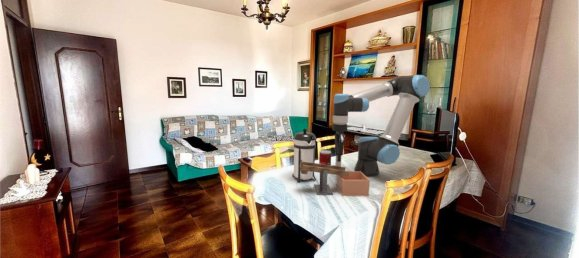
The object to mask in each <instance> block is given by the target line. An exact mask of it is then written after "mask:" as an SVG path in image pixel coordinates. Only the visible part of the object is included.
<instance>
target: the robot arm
mask: <svg viewBox="0 0 579 258" xmlns="http://www.w3.org/2000/svg"><path fill="white" fill-rule="evenodd" d="M430 89H431V84H430V81H429V78H428V77H426V76H425V75H422V74H415V75H402V76H401V75H400V76H398V77H395V78H392V79H390V80H387V81H384V82H383V83H382V84H380V85H376V86H373V87H370V88H367V89H364V90H361V91H358V92H355V93H352V94H348V93H335V94H334V95H333V96H334V97H333V113H332V114H333V116H332V117H331V118H332V131H333V132H335V133H334V135H333V136H334V152H335V163H334V164H335V166H340V167H342V156H344V148H345V142H346V139H345V134H344V132H347V131H348V123H349V113H362V112H363V113H365V112H367V111H368V110H369V108H370V103H371V102H373V101H376V100H378V99H382V98H385V97H388V98H390V97H394V96H398V97H399V99H398V101H397V103H396V106H395V108H394V109H393V112H392V114H391V116H390V118H389V120H388V123H387V125H386V127H385V129H384V132H383V134H382V135H379V136H361V137H359V139H358V150H357V161H356V163H355V166H354V168H353V169H354V171H361V172H362V173H363V174H364V175H365V176H366V177H376V176H378V175H380V167H379V164H378V162H379V163H381V164H384V165H391V164H394V163H395V162H397V161H398V159H399V157H400V155H401V152H400V151H401V150H400V148H399V146H400V143H399V139H400V137H401V135H402V132H403V130H404V128H405V126H406V123H407V121H408V120H409V117H410V115H411V113H412V110H413V108H414V107H415V104H417V103H419V102H420V100H421V98H422V97H425V96H426V95H428V94H429V92H430Z"/></svg>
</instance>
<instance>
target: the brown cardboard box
mask: <svg viewBox="0 0 579 258" xmlns="http://www.w3.org/2000/svg"><path fill="white" fill-rule="evenodd" d="M348 171H349V175H348V176H341V175H336V176H335V178H336V180H335V181H336V182H335V185H336V189H337V190H338V191H339V193H340V195H341V196H342V197H343V196H344V197H349V196H350V197H351V196H352V197H354V196H357V197H361V196H364V197H366V196H370V195H369V194H370V182H371V181H370V179H369V177H368V176H365V175H364V174H363V173H362V172H361V171H353V170H352V171H350V170H348Z"/></svg>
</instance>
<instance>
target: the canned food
mask: <svg viewBox="0 0 579 258" xmlns="http://www.w3.org/2000/svg"><path fill="white" fill-rule="evenodd" d="M318 156H319V159H318V162H319V163H318V164H325V165H332V151H331V150H325V149H324V150H319V155H318Z"/></svg>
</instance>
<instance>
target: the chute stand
mask: <svg viewBox="0 0 579 258" xmlns="http://www.w3.org/2000/svg"><path fill="white" fill-rule="evenodd" d="M328 175H329V174H328V170H323V173H319V184H313V188H314V192H315V194H316V195H317V196H333V195H334V192H333V190H332V188H331V187H330V185H329V184H328Z"/></svg>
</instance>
